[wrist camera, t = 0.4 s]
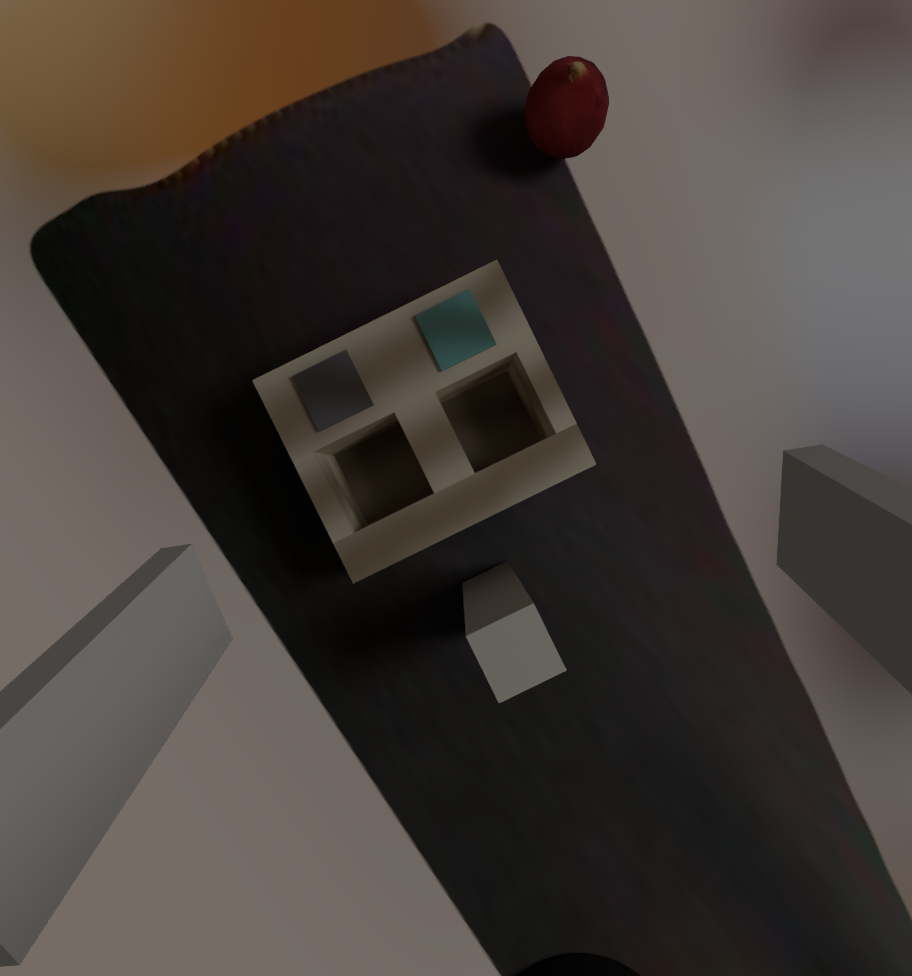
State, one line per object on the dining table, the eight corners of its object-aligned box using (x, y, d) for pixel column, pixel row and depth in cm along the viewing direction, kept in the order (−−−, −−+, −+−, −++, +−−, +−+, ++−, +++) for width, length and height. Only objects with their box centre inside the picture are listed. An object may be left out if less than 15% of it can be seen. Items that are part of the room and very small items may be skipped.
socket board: (572, 466, 41) (597, 464, 34) (370, 565, 41) (352, 584, 34) (489, 297, 41) (497, 257, 34) (286, 397, 41) (250, 379, 34)
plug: (528, 605, 42) (566, 670, 28) (484, 627, 42) (498, 703, 28) (507, 561, 41) (533, 603, 27) (462, 583, 41) (465, 636, 27)
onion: (564, 91, 41) (590, -3, 33) (607, 151, 41) (644, 71, 33) (504, 136, 41) (517, 53, 33) (548, 195, 41) (570, 126, 33)
